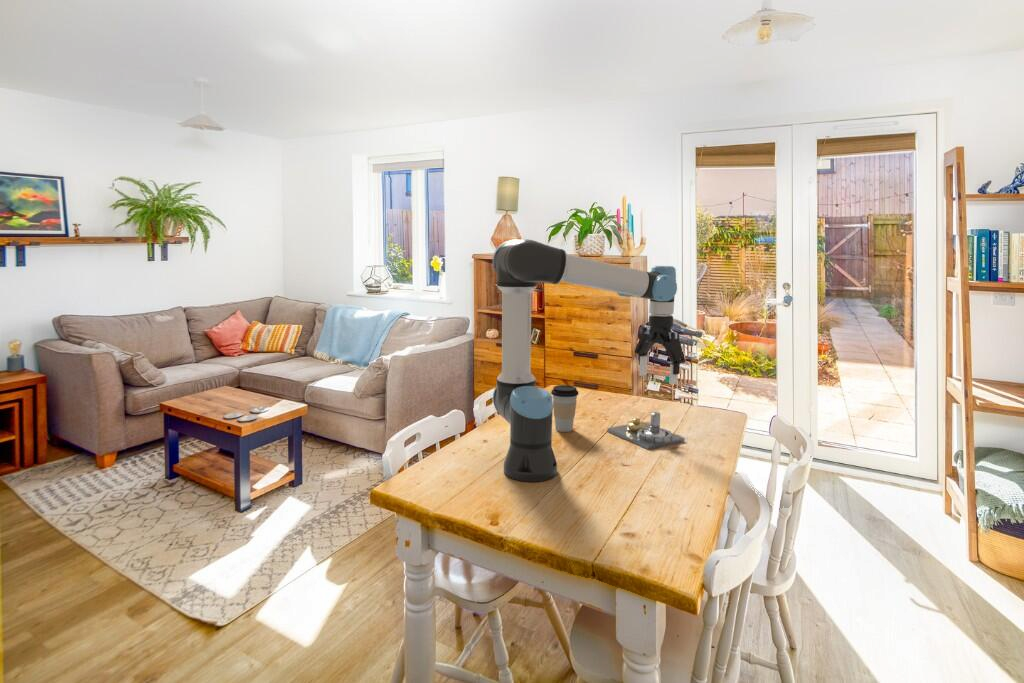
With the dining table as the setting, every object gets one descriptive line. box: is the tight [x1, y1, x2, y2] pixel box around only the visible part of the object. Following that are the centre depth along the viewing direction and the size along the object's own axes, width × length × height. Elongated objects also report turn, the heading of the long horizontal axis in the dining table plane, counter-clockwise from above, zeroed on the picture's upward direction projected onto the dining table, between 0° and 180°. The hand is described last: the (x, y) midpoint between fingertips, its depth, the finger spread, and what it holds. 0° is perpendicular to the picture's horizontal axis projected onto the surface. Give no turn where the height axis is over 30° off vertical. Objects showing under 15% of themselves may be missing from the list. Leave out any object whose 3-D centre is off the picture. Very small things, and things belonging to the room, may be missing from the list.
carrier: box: [607, 417, 685, 450], centre depth 191 cm, size 16×20×5 cm
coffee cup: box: [550, 384, 579, 433], centre depth 196 cm, size 9×9×15 cm
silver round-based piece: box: [644, 411, 666, 437], centre depth 187 cm, size 7×7×8 cm
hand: (657, 379), depth 184 cm, fingers open, 13 cm apart
